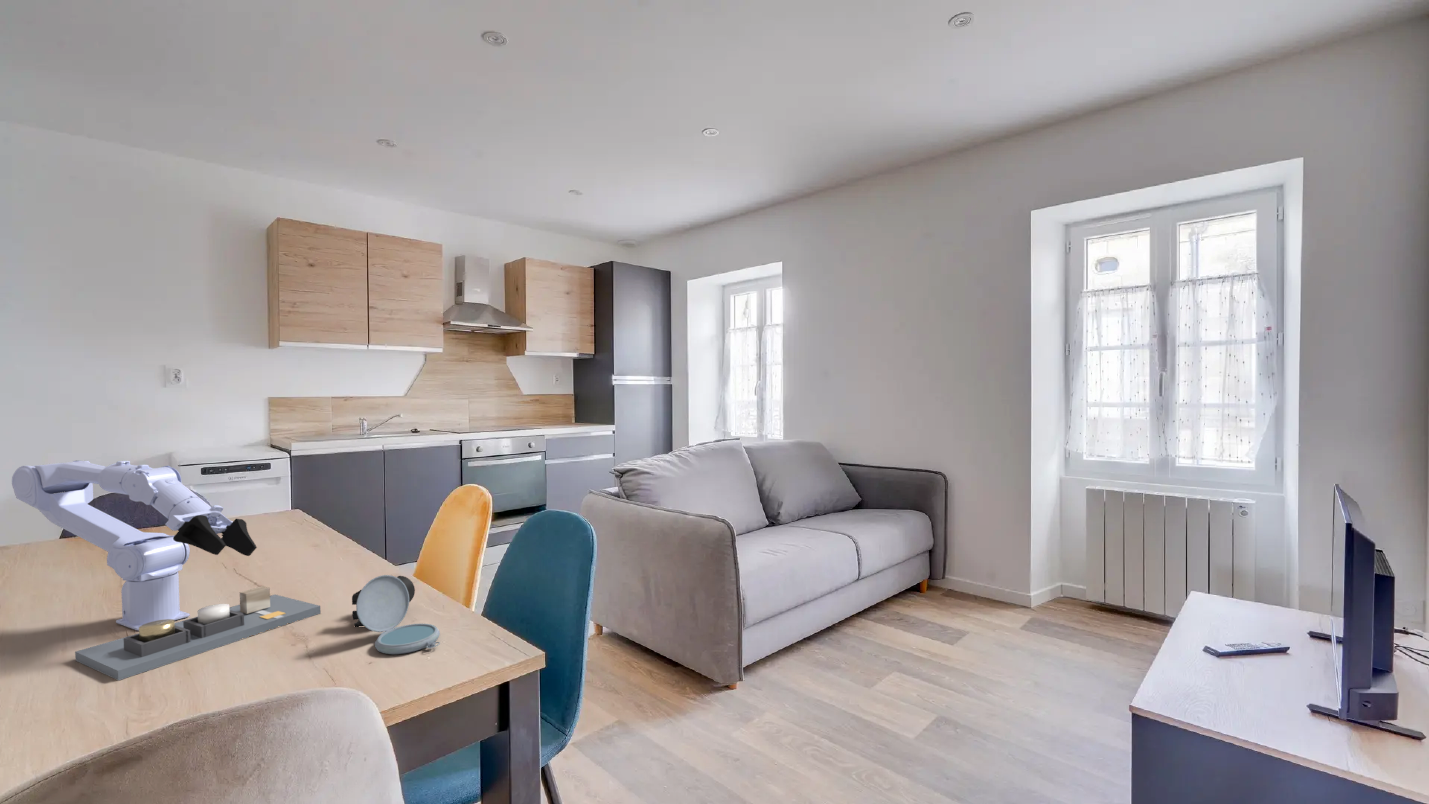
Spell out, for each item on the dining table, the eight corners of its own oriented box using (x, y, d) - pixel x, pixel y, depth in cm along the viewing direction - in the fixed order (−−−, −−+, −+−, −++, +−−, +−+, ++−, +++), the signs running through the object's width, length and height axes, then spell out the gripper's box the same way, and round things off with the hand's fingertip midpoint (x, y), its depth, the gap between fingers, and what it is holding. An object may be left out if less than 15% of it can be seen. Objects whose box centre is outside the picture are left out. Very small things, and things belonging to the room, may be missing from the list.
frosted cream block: (240, 611, 115) (239, 592, 115) (263, 604, 119) (262, 586, 119) (247, 613, 114) (246, 594, 114) (270, 606, 118) (269, 587, 118)
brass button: (134, 638, 100) (133, 626, 100) (167, 628, 104) (167, 617, 104) (146, 643, 98) (146, 631, 98) (180, 633, 102) (179, 621, 102)
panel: (75, 660, 99) (74, 639, 99) (275, 601, 126) (274, 584, 126) (118, 680, 92) (117, 657, 92) (320, 613, 119) (319, 595, 119)
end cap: (389, 628, 111) (388, 591, 111) (351, 628, 111) (350, 592, 111) (415, 608, 121) (415, 575, 121) (380, 608, 121) (379, 575, 121)
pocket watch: (403, 568, 112) (459, 578, 105) (405, 625, 112) (461, 640, 105) (349, 584, 103) (407, 596, 96) (351, 647, 103) (409, 664, 96)
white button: (193, 621, 107) (192, 610, 107) (222, 613, 111) (221, 602, 111) (205, 625, 105) (205, 614, 105) (234, 616, 109) (234, 605, 109)
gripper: (168, 487, 108) (222, 530, 106) (231, 497, 122) (279, 535, 120) (138, 520, 106) (191, 564, 104) (205, 526, 120) (253, 565, 118)
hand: (236, 550), depth 112 cm, fingers open, 7 cm apart
